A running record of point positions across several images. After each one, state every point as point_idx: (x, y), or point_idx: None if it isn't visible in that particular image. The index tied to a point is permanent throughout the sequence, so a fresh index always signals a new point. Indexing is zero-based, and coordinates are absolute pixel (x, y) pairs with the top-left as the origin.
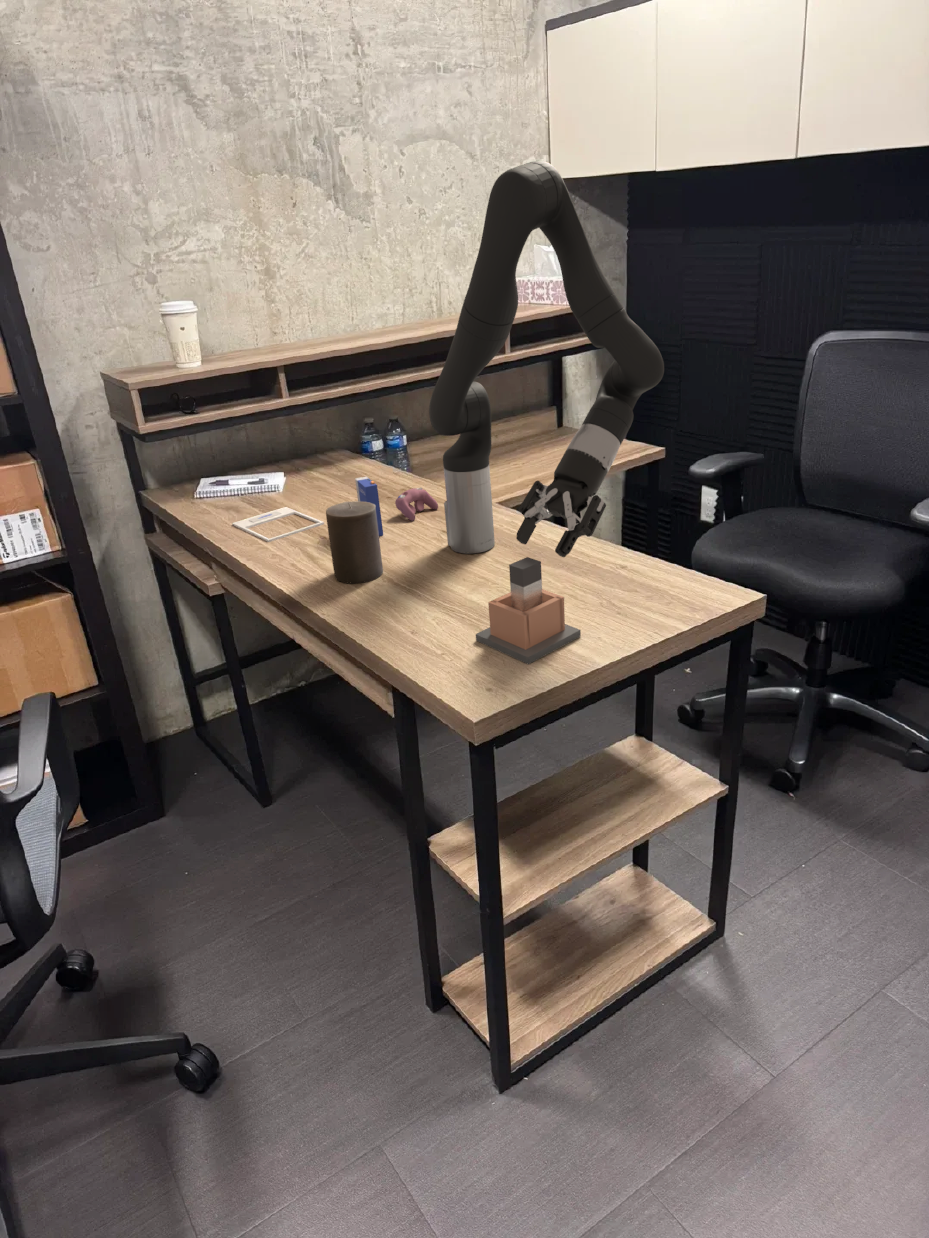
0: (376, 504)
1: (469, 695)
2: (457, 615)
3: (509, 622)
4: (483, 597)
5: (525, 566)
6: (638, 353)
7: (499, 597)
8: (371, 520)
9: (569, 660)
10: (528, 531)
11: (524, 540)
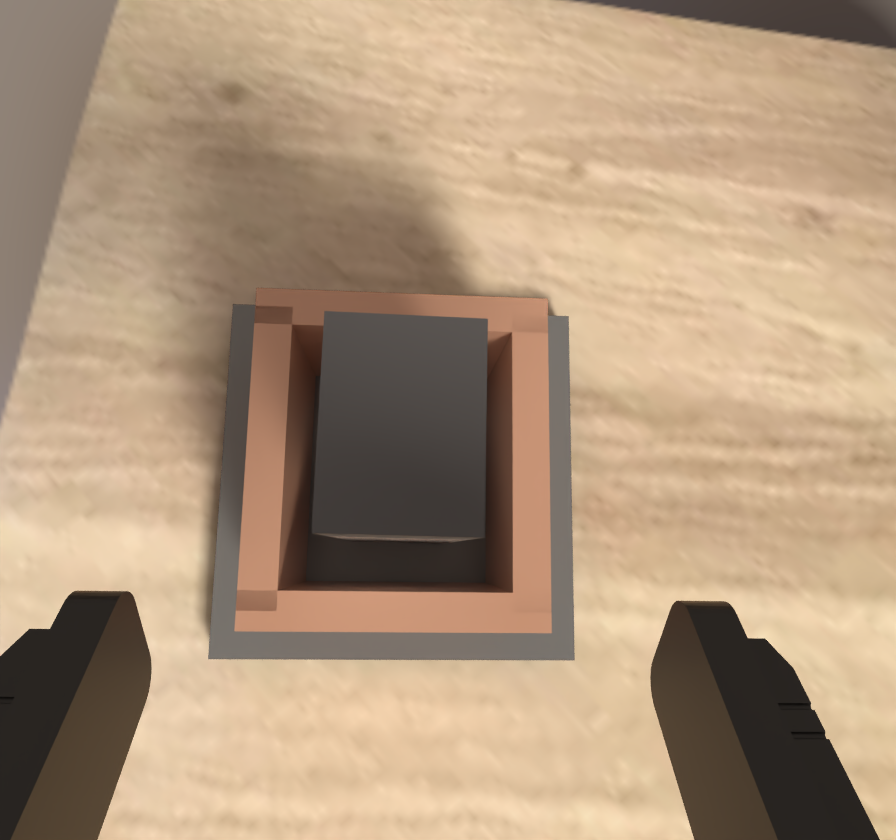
0: None
1: (262, 27)
2: (810, 442)
3: None
4: (879, 661)
5: (348, 370)
6: None
7: (544, 380)
8: None
9: (119, 447)
10: (706, 771)
11: (668, 676)
